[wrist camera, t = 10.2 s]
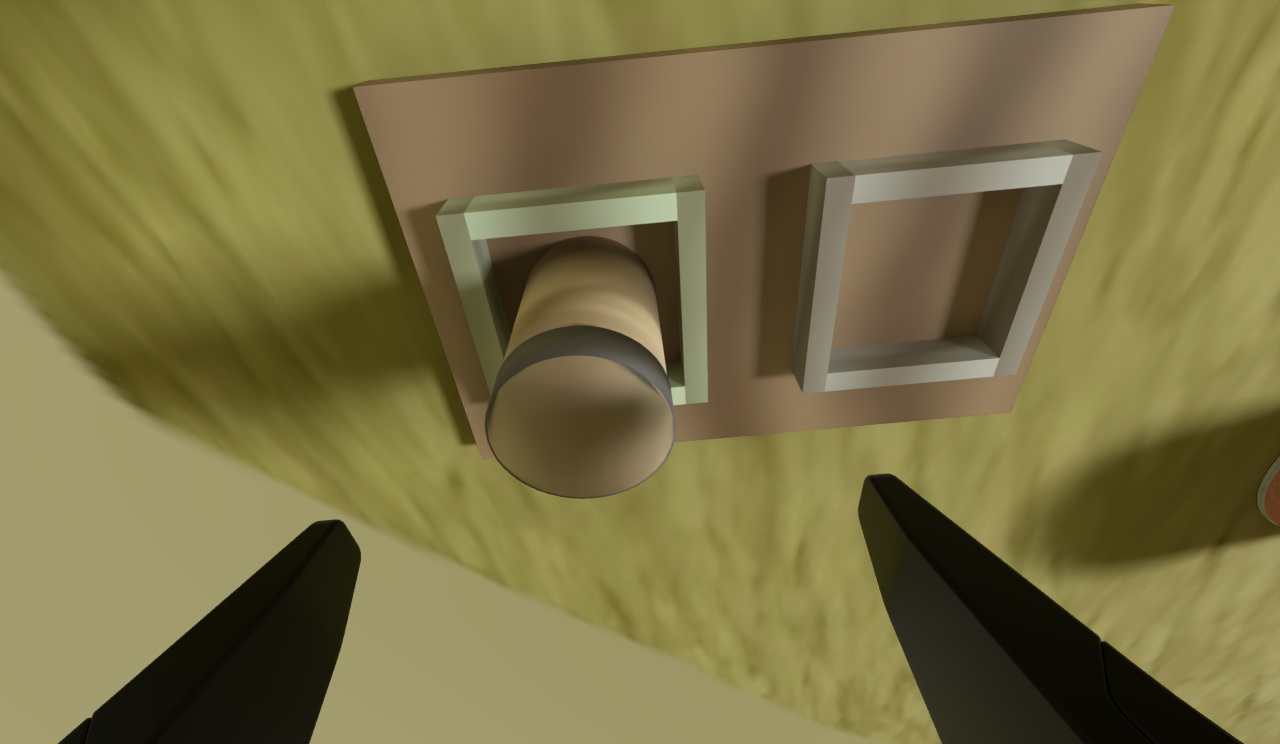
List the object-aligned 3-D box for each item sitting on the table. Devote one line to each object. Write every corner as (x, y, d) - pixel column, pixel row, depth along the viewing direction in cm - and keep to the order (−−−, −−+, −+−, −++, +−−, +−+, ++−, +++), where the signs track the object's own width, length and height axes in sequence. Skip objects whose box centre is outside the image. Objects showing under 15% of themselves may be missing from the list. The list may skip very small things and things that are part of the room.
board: (1139, 3, 15) (1227, 6, 13) (994, 394, 24) (1033, 436, 21) (368, 80, 16) (328, 96, 14) (487, 439, 24) (474, 486, 22)
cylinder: (651, 227, 17) (670, 344, 12) (660, 346, 20) (680, 490, 14) (511, 241, 17) (461, 364, 12) (538, 358, 20) (508, 505, 14)
